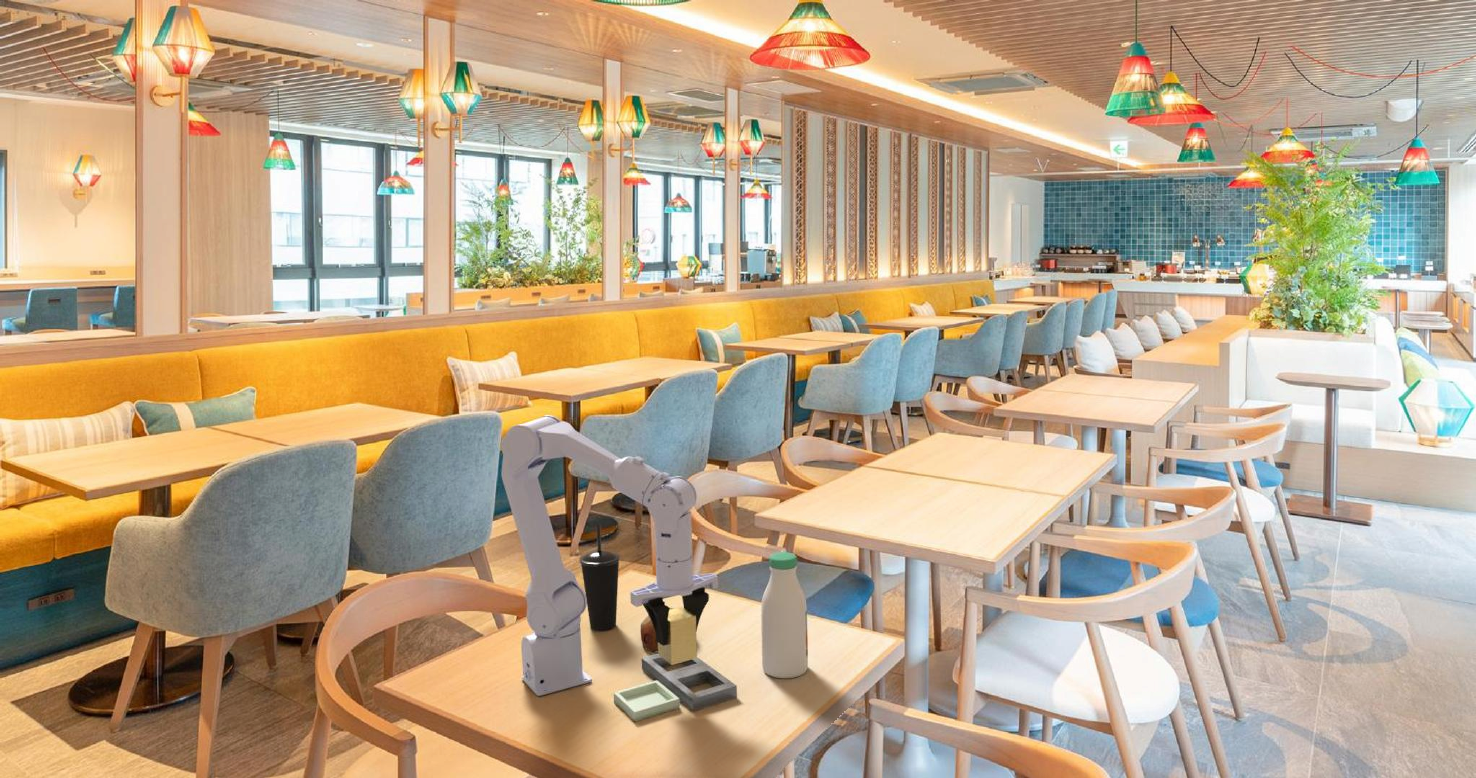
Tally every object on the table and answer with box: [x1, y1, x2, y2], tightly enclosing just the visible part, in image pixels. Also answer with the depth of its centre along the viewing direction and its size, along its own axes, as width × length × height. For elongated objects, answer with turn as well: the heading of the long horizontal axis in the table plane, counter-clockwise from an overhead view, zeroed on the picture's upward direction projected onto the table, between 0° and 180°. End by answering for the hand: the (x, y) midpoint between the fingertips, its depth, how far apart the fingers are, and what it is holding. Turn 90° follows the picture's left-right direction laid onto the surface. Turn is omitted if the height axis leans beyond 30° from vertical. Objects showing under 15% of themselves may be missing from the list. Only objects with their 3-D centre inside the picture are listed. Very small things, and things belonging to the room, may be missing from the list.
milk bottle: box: [760, 551, 809, 679], centre depth 159 cm, size 8×8×20 cm
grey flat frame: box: [641, 653, 738, 712], centre depth 156 cm, size 8×18×2 cm, turn 31°
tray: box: [613, 680, 681, 722], centre depth 149 cm, size 8×8×2 cm
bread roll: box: [640, 606, 675, 652], centre depth 173 cm, size 10×10×8 cm
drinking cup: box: [578, 523, 621, 632], centre depth 179 cm, size 8×8×20 cm
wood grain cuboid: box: [657, 606, 698, 666], centre depth 150 cm, size 4×4×7 cm
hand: (676, 639), depth 150 cm, fingers closed on wood grain cuboid, 4 cm apart
